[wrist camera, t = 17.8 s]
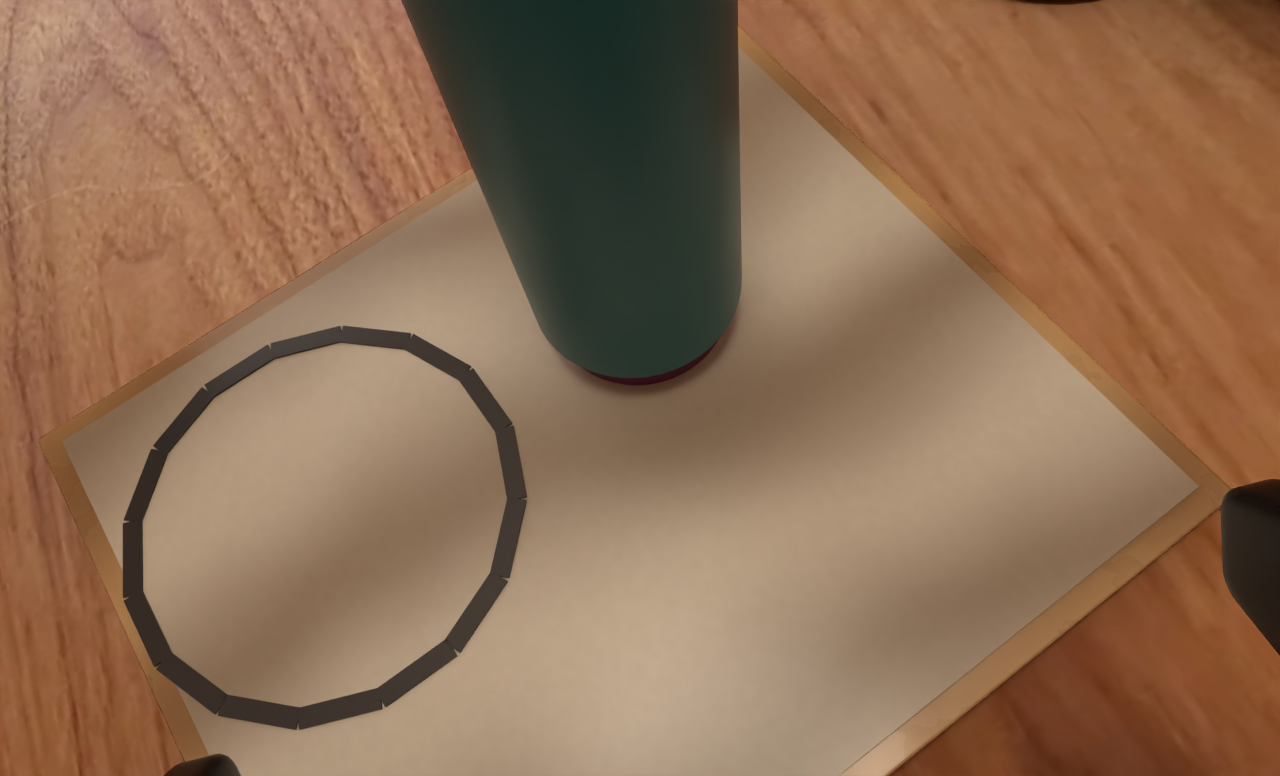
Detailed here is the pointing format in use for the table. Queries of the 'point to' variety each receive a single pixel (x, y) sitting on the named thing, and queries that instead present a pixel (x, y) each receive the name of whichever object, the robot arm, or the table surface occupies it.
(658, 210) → the cylinder
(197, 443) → the drawing board
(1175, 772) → the table surface
